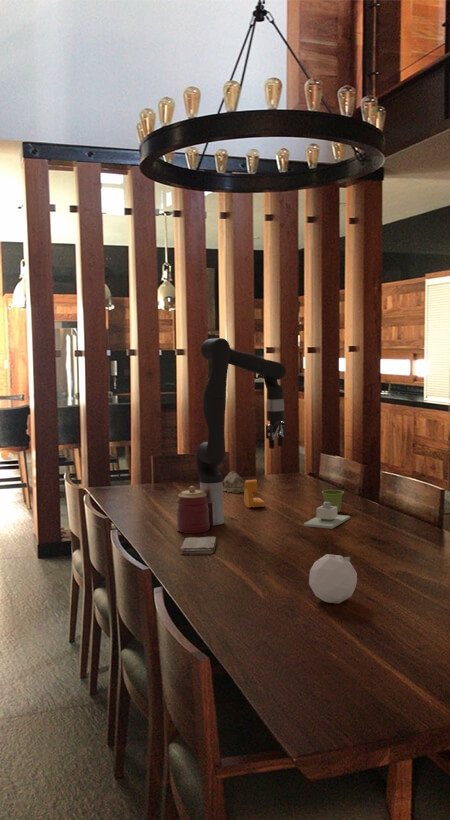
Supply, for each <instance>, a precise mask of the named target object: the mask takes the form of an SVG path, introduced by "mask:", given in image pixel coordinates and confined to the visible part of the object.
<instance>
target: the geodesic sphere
mask: <svg viewBox="0 0 450 820" xmlns="http://www.w3.org/2000/svg"><path fill="white" fill-rule="evenodd" d="M350 561H351V556H345V557H343V555H339V554H337V555H336V554H327V553H326V554H325V555H324V556H322V557H320V558H319V559H317V560H316V561H315V562H314V563H313V565H312V566H311V568H310V570H309V579H308V586H309V587H310V589H311V590H312V592H313V594H314V595H315V597H316V598H318V599H320V600H322V601H324V602H325V603H329V604H332V603H333V604H341V603H342V602H344V601H345V600H347V599H349V598H350V597H352V596H353V594H354V592H355V590H356V587H357V581H358V580H357V579H358V573H357V571H356V569H355V568H354V565H352V563H351V562H350Z"/></svg>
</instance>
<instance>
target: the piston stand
mask: <svg viewBox="0 0 450 820" xmlns="http://www.w3.org/2000/svg"><path fill="white" fill-rule="evenodd" d="M323 507H324V509H331V507H330V502H323ZM349 519H351V516H350V515H343V514H337V517H335V518H333V519H332V520H331V519H320V518H317V516H315V517H314V518H312V519H309V520H308V521H305V522H304V523H303V527H308V528H309V527H311V528H318V529H320V528H321V529H329V530H331V529H332V530H333V529H334V528H336V527H337V526H339V525H341V524H343V523H344V522H346V521H348V520H349Z"/></svg>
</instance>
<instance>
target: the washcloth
mask: <svg viewBox="0 0 450 820" xmlns="http://www.w3.org/2000/svg"><path fill="white" fill-rule="evenodd" d="M216 544H217V536H203V537H194V536H193V537H185V538H184V540H183V542H182V545H181V547H180V555H187V554H189V555H190V556H191V555H212V554H213V553H214V552H215V548H216ZM189 555H188V556H189Z"/></svg>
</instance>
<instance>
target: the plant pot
mask: <svg viewBox="0 0 450 820" xmlns="http://www.w3.org/2000/svg"><path fill="white" fill-rule="evenodd" d="M321 494H322V496H323V501H324V502H330V506H337V513H340V512H341V509H342V501H343V500H342V499H343V495H344V494H345V491H343V490H341V489H340V490H339V489H326V490H322V491H321Z"/></svg>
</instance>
